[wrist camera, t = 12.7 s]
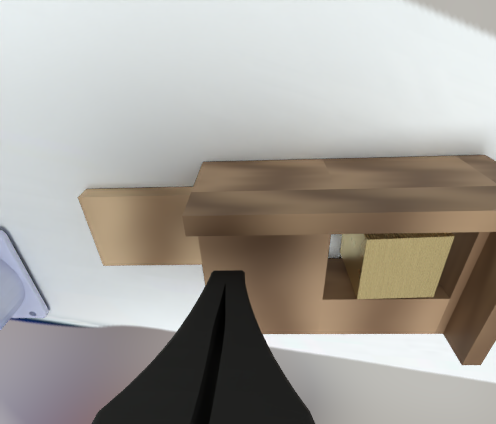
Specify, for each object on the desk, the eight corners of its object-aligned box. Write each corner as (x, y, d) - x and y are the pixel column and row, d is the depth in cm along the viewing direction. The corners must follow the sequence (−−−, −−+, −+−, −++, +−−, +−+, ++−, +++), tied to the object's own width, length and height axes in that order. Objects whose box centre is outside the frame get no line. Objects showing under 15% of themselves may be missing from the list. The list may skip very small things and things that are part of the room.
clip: (357, 299, 17) (433, 297, 16) (366, 239, 15) (454, 236, 14) (339, 252, 20) (403, 249, 20) (345, 198, 18) (416, 194, 18)
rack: (122, 292, 22) (87, 364, 18) (77, 165, 17) (10, 219, 12) (431, 290, 22) (480, 365, 17) (484, 155, 16) (576, 209, 12)
